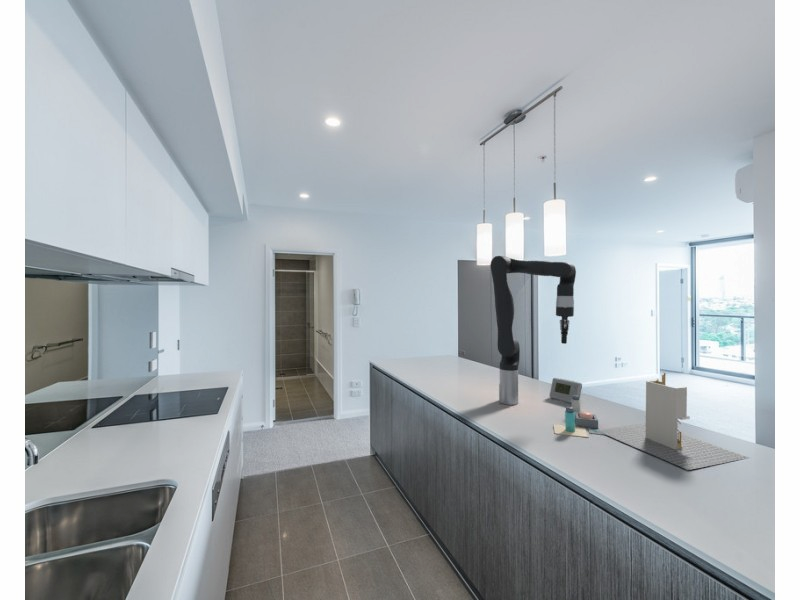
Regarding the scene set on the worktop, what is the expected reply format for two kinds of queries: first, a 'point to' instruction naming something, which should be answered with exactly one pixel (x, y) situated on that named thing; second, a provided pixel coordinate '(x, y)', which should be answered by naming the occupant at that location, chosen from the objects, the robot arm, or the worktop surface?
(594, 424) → the button housing
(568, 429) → the marker teal
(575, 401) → the marker grey
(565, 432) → the sketch pad
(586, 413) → the button
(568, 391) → the digital clock
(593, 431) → the card
